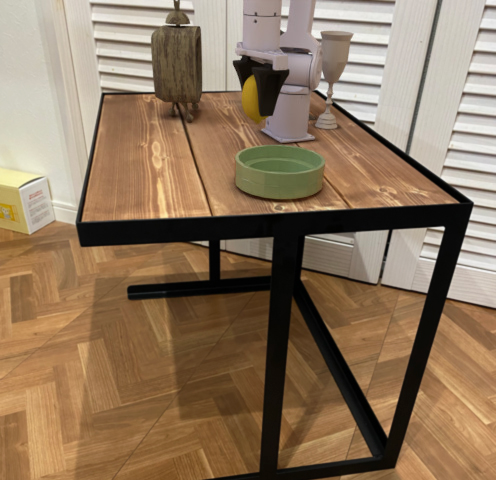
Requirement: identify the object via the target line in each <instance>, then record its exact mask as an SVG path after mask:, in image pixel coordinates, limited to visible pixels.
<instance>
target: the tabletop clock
mask: <svg viewBox="0 0 496 480" xmlns="http://www.w3.org/2000/svg"><path fill="white" fill-rule="evenodd" d="M180 6H181V0H173V7H174V10H173V11H170V12H169V13H168V14H167V16H166V18H165V21H164V23H165V24H164V25H162V26H160V27H158V28H156V29H155V30H154V31H153V32H152V33H151V36H150V50H151V51H150V53H151V54H150V55H151V66H152V78H153V89H154V90H153V91H154V97H155V98H157V99H159V100H160V101H162V102H163V103H171V107H170V108H169V109H168V115H169V116H171V117H174V116H175V115H176V109H175V106H176V104H178V103H179V104H180V105H181V106H182V107H183V109H184V110H185V113H186V116H185V121H187V123H192V122H193V121H194V118H195V117H194V116H193V115H192V114H191V113H190V110H189V107H188V104H191V109H192V110H193V111H197V110H199V103H200V102H201V100H202V99H201V98H202V95H203V49H202V47H203V45H202V28H201V26H200V25H190V24H191V21H190V18H189V16H188V15H187V14H186V12H183V11H181V9H180Z"/></svg>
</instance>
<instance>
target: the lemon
mask: <svg viewBox="0 0 496 480" xmlns="http://www.w3.org/2000/svg"><path fill="white" fill-rule="evenodd" d="M241 107H242V110H243V113H244V114H245V116H247V118H248V119H251V120H252V121H253V122H254V123H255V124H256V125H259V124H261V123H262V122H263V121H264V120H266V118H268V117H269V116H265V117H261V116H260V114H259V107H258V92H257V86H256V81H255V78H254V75H252V76H250V77H249V78H248V79H247V80H246V82H245V84H244V86H243V90H241Z"/></svg>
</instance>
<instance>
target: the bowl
mask: <svg viewBox="0 0 496 480" xmlns="http://www.w3.org/2000/svg"><path fill="white" fill-rule="evenodd" d="M325 169H326V158H325V157H324V156H323V155H322V154H320V153H318V152H317V151H316V150H315V151H314V150H312V149H308V148H306V147H301V146H295V145H287V144H262V145H261V144H260V145H253V146H250V147H249V146H248V147H245V148H243V149H241V150H239V151H238V152H237V153H236V154H235V156H234V183H235V186H236V187H237V188H238V189H239V190H241V191H242V192H245V193H247V194H250V195H252V196H255V197H260V198H265V199H271V200H295V199H301V198H307V197H309V196H310V197H311V196H312V195H315V194H317V193H319V192H320V191H321V190H322V189H323V184H324V177H325Z"/></svg>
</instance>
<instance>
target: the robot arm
mask: <svg viewBox="0 0 496 480" xmlns="http://www.w3.org/2000/svg"><path fill="white" fill-rule="evenodd" d="M316 4H317V0H290V1H289V7H288V15H287V23H286V29H285V31H284V32H285V33H283V34H282V35H281V36H280V30H281V25H282V8H283V7H282V6H283V0H242V41H236V47H235V49H234V50H235V51H234V52H235V54H236V56H238V57H240V59H234V60H232V66H233V68H234V70H235V72H236V75H237V78H238V81H239V85H240V90H241V91H242V90H243V86H244V84H245V82H246V80H247V79H248V78H249V77H250V76H252V75H254V78H255V81H256V86H257V92H258V107H259V114H260V116H261V117H265V116H269V117H268V118H266V119H265V127H264V128H261V132H262V133H264V134H266V135H267V136H269V137H270V138H272V139H274V140H275V141H277V142H279V143H281V144H287V143H296V142H305V141H314V140H316V136H315V135H312V134H311V133H309V132H308V129H309V120H310V119H309V114H310V109H311V99H312V92H313V91H315V90H316V89H318V88H319V85H320V82H321V78H322V75H323V72H322V57H323V50H322V46H321V43H320V42H319V41H318V40H317V39H316V37H314V36H313V34H312V31H313V26H314V25H313V23H314V17H315V11H316V10H315V9H316ZM286 51H295V52H306V53H309V54H304V53H293V52H286Z"/></svg>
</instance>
